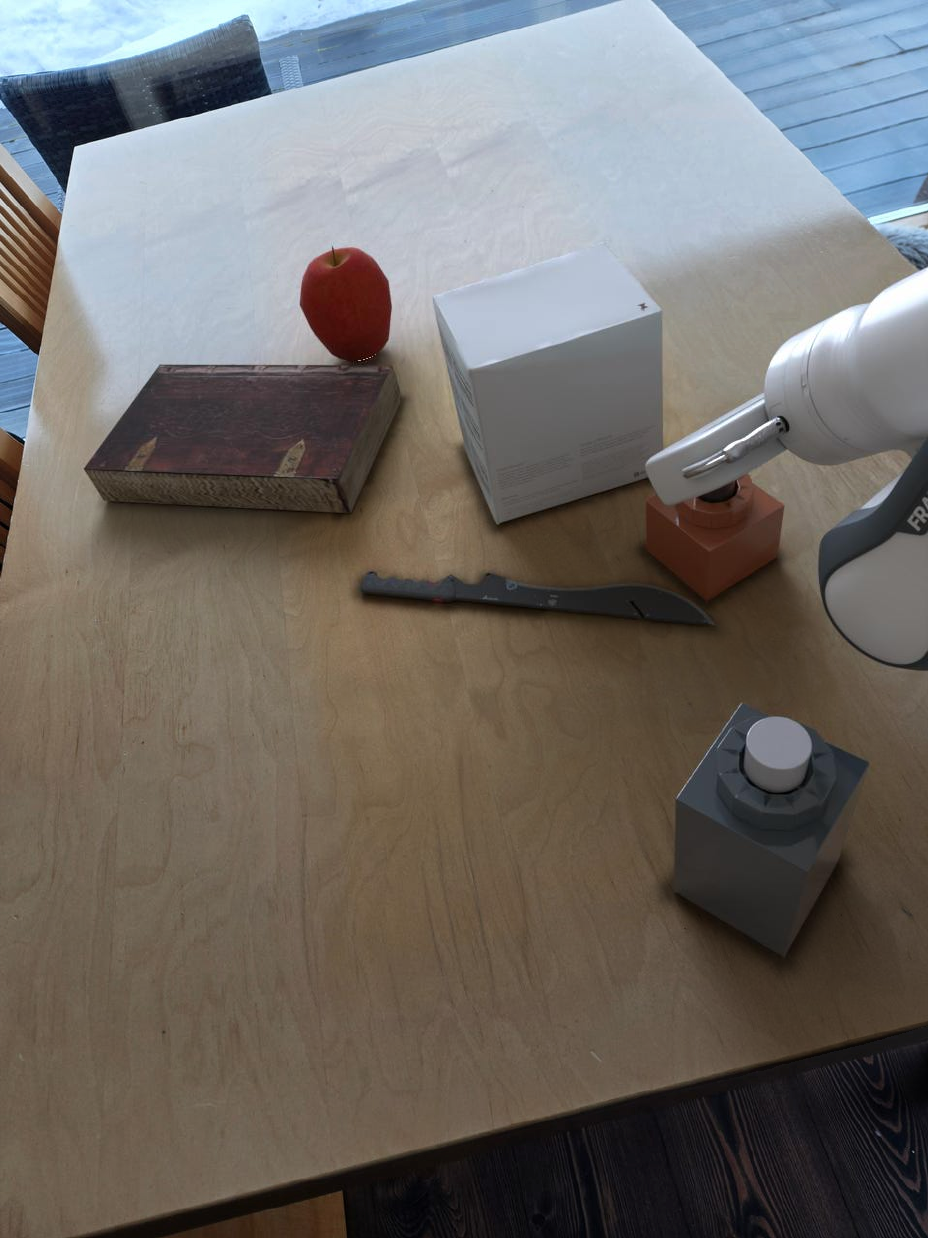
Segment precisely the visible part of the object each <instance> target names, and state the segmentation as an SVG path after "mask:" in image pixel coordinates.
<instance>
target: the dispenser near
mask: <svg viewBox="0 0 928 1238" xmlns="http://www.w3.org/2000/svg"><path fill="white" fill-rule="evenodd" d="M768 717H780V716H779V715H778V716H776V715H775V716H774V715H773V716H772V715H771V714H768V713H766V712H764V711H762V710H760V709H758V708H755V707H753V706H751V705H749V704H747V703H745V702H742V701H741V702H740V704H739V705H738V707H737V708H736V709H735V711H734V712H733V714H732V715H731V717H729V719H728V722H727V723H726V724H725V726H724V727H723V728H722V730H721V731H720V733H719V734H718V736H717V737H716V739H715V740H714V741H713V743H712V745H711V746H710V747H709V749H708V751H706V754H705V755H704V757H703V758H702V760H701V761H700V763H699V764H698V765H697V767H696V768H695V770H694V771H693V773H691V776H690V777H689V778H688V780H687V782H686V783H685V785H684V786H683V787H682V789H681V790H680V791H679V793H678V795H677V796H676V798H675V812H674V813H675V817H674V818H675V819H674V862H673V863H674V864H673V865H674V867H673V868H674V869H673V892H675V893H676V894H678V895H679V896H681V897H683V898H684V899H686V900H688V901H689V902H691V903H693V904H695V905H696V906H698V907H699V908H702V910H704V911H706V912H707V913H709V914H711V915H713V916H714V917H715V918H718V919H720V920H721V921H722V922H723V923H726V924H728V925H729V926H731V927H733V928H734V929H736V930H737V931H739V932H741V933H743V934H744V935H746V936H748V938H751V939H753V940H754V941H756V942H757V943H759V944H761V945H763V946H764V947H766V949H769V950H770V951H772V952H774V953H775V954H777V955H779V956H780V957H782V958H785V957H786V955H787V953H788V952H789V950H790V948H791V946H792V945H793V942H794V941H795V939H796V938H797V935H798V934H799V932H800V930H801V928H802V926H803V925H804V923H805V921H806V919H807V918H808V916H809V914H810V912H811V910H812V908H813V907H814V905H815V903H816V902H817V900H818V898H819V896H820V894H821V892H822V891H823V889H824V888H825V885H826V884H827V883H828V880H829V878H830V877H831V875H832V873H833V872H834V869H835V868H836V866H837V864H838V862H839V860H840V858H841V857H840V856H841V854H842V851H843V848H844V844H845V842H846V839H847V835H848V832H849V829H850V825H851V822H852V820H853V817H854V814H855V811H856V807H857V804H858V802H859V799H860V795H861V792H862V788H863V786H864V783H865V779H866V776H867V773H868V770H869V768H870V764H871V762H869V761H868V760H866V759H863V758H861V757H860V756H857V755H855V754H854V753H853V754H852V753H851V752H848V751H846V750H844V749H842V748H840V747H839V746H836V745H834V744H831V743H829V742H827V741H825V740H824V739H823V738H822V736H821V735H820V734H819V732H817V730H816V729H814V728H812V727H810V726H808V725H805V724H803V723H802V722H800V721H797V720H795V719H793V718H791V717H789V716H783V717H784V718H788V719H791V720H793V721H795V722H797V723H798V724H800V725H801V726H802V727H803V728H804V729H805V730H806V731H807V733H808V734H809V736H810V738H811V741H812V752H811V756H810V761H809V765H808V769H807V774H806V777H805V779H804V781H803V782H802V783H801V784H800V785H799V786H798V787H797V788H795V789H793V790H791V791H788V792H782V793H775V792H769V791H766V790H763V789H761V788H759V787H757V786H756V785H755V784H754V783H753V782H751V780H750V779H749V778H748V776H747V775H746V773H745V770H744V754H745V746H746V738H747V734H748V732H749V730H750V728H751V727H752V726H753V725H754V724H755V723H757V722H758V721H760V720H762V719H764V718H768Z"/></svg>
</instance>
